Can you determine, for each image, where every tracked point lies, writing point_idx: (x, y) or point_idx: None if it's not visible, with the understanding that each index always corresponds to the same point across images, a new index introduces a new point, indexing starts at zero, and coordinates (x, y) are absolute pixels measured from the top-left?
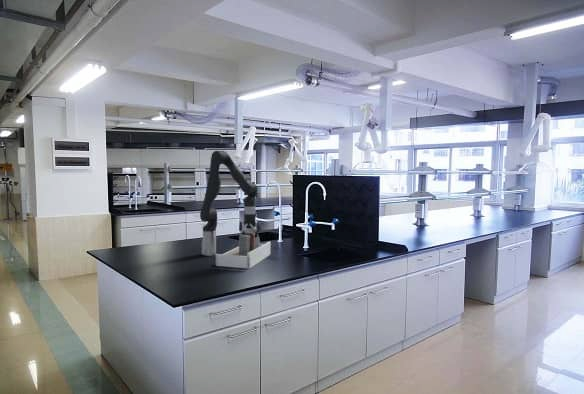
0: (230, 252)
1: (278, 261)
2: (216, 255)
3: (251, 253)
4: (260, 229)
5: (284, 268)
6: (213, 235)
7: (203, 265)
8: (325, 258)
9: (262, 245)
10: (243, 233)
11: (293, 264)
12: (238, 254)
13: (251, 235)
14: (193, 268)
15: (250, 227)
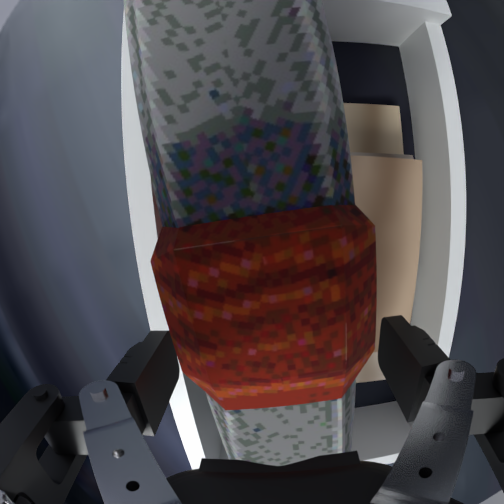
0: (446, 235)
1: (100, 314)
2: (437, 2)
3: (126, 34)
4: (50, 453)
5: (17, 178)
6: None
7: (482, 61)
8: (4, 401)
9: None
10: (411, 346)
11: (18, 275)
12: (357, 191)
13: (159, 248)
14: (477, 5)
15: (228, 485)
